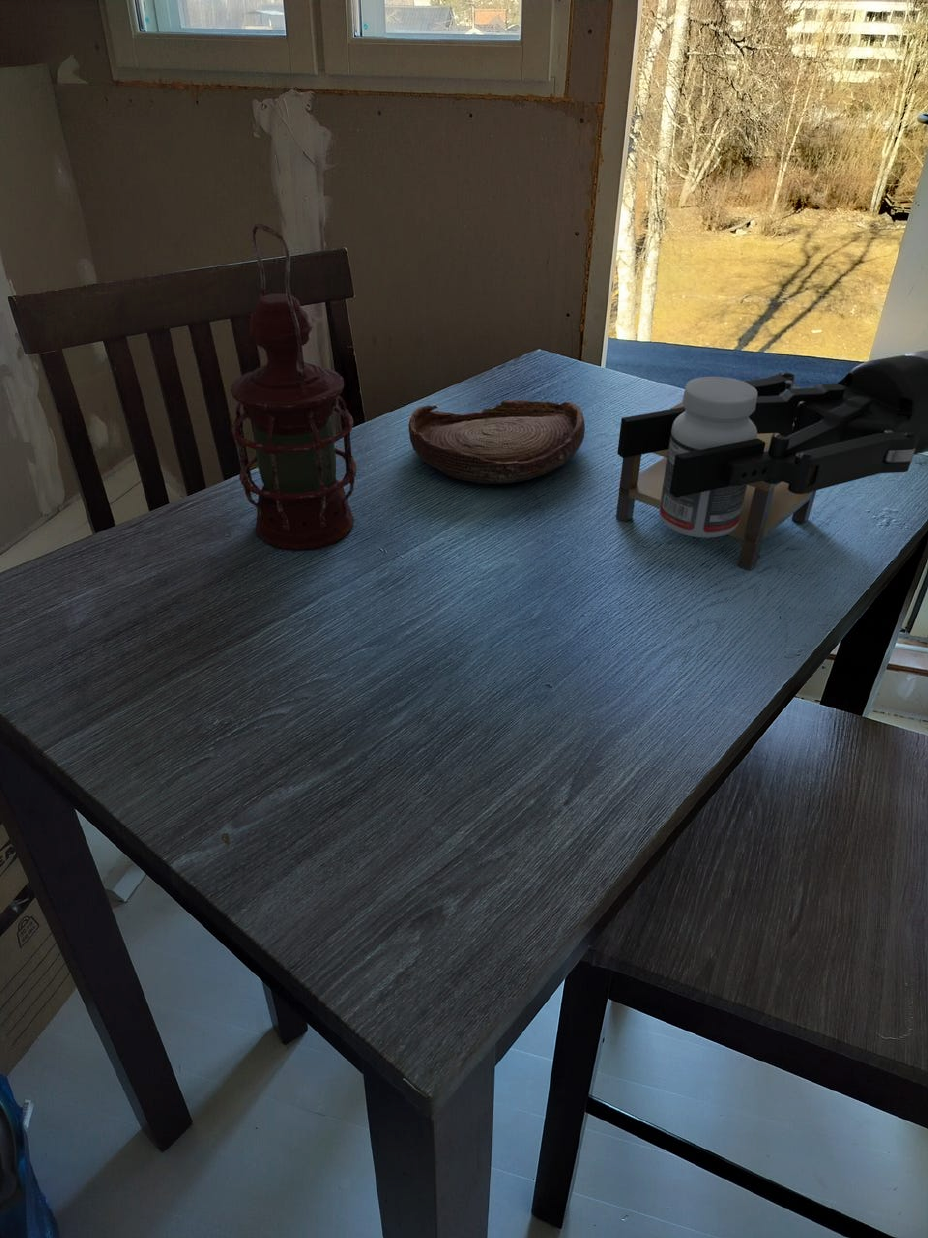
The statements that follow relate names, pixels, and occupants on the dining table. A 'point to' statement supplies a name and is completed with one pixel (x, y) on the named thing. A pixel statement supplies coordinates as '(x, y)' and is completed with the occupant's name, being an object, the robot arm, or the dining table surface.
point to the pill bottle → (706, 423)
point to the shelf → (758, 511)
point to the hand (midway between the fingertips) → (648, 456)
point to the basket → (498, 440)
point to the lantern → (292, 429)
